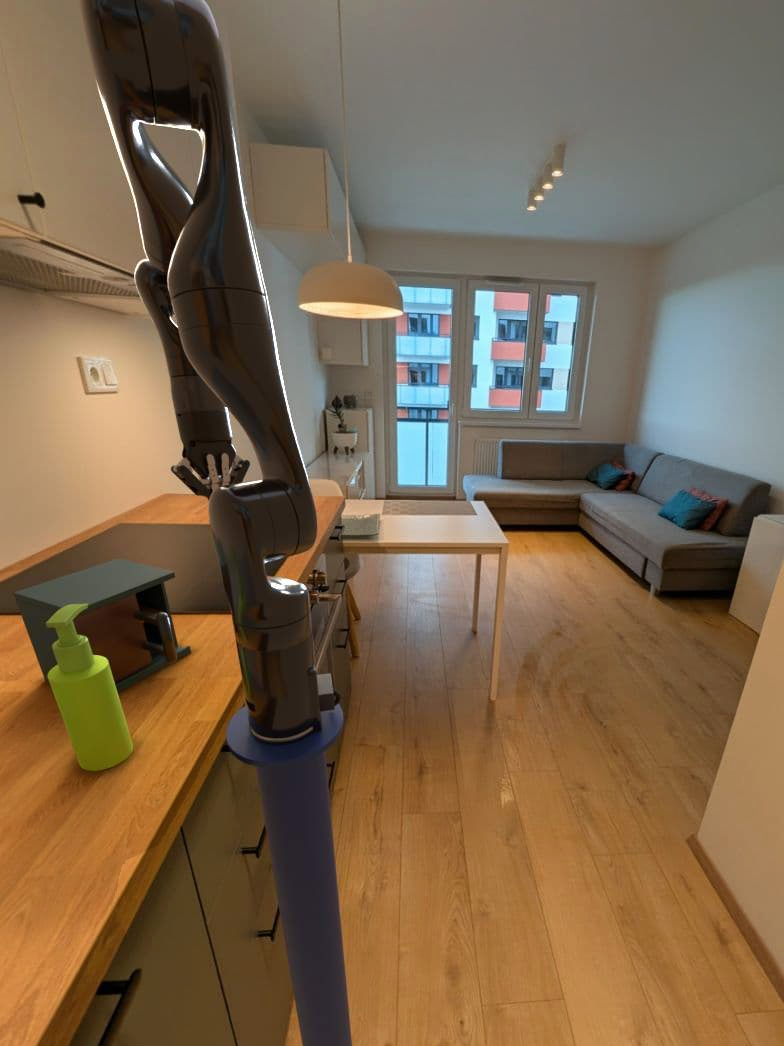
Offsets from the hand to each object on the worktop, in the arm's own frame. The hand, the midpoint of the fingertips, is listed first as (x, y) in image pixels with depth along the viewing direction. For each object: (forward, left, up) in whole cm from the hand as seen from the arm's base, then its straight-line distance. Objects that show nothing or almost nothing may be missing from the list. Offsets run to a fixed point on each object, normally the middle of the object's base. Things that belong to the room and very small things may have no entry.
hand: (222, 520), depth 84 cm
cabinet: (+18, +6, -22) cm, 29 cm away
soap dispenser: (+14, +28, -22) cm, 39 cm away
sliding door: (+14, +14, -21) cm, 29 cm away
